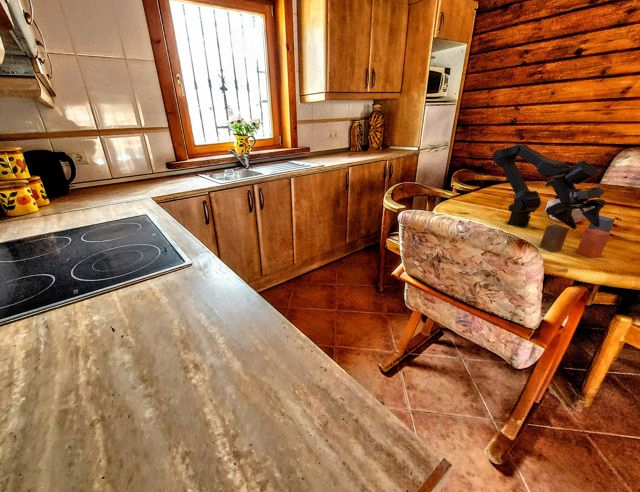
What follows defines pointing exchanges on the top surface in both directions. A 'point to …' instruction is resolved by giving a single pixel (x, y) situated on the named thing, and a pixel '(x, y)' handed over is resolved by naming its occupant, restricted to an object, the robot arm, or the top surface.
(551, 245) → the walnut block
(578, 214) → the paper bowls
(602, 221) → the slate block
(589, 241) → the terracotta block
